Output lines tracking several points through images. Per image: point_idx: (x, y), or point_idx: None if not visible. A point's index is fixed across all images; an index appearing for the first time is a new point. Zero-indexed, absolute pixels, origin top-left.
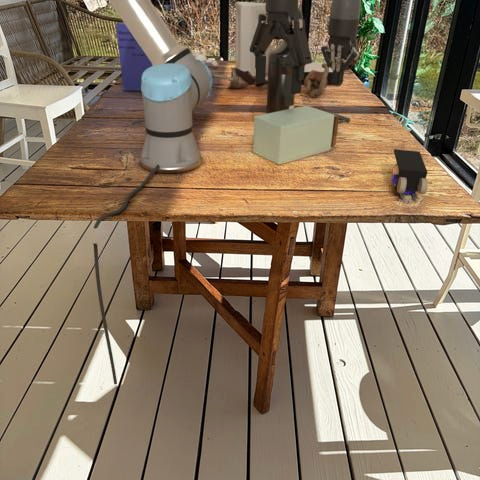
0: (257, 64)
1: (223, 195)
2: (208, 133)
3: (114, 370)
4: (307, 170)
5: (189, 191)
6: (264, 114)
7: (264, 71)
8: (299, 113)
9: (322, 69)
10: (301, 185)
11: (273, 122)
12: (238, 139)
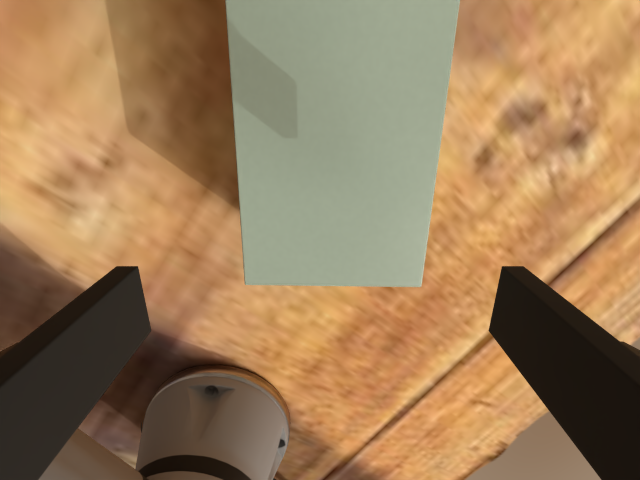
0: (60, 443)
1: (432, 419)
2: (41, 242)
3: None
4: (474, 193)
5: (374, 452)
6: (246, 235)
7: (92, 321)
8: (327, 75)
9: None
10: None
11: (360, 275)
12: (139, 196)
